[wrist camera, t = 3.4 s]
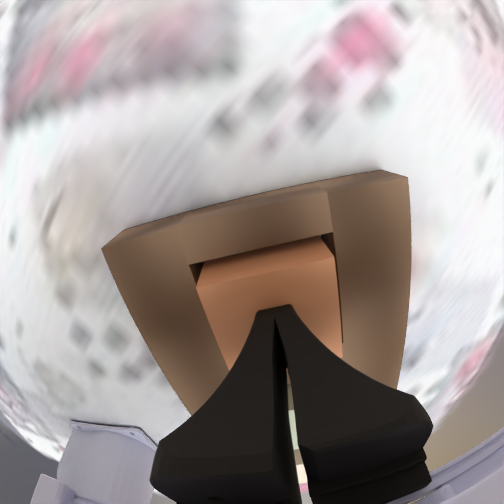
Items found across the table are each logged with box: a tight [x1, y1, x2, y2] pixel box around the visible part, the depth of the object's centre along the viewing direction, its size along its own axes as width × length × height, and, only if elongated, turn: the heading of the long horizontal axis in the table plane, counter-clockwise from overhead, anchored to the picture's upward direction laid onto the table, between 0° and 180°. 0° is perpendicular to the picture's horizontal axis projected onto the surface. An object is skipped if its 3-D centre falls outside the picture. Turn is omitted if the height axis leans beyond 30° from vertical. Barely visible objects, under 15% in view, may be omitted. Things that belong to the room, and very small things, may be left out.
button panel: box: [101, 170, 411, 416], centre depth 16 cm, size 13×25×2 cm, turn 13°
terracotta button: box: [196, 235, 343, 371], centre depth 12 cm, size 5×5×2 cm
